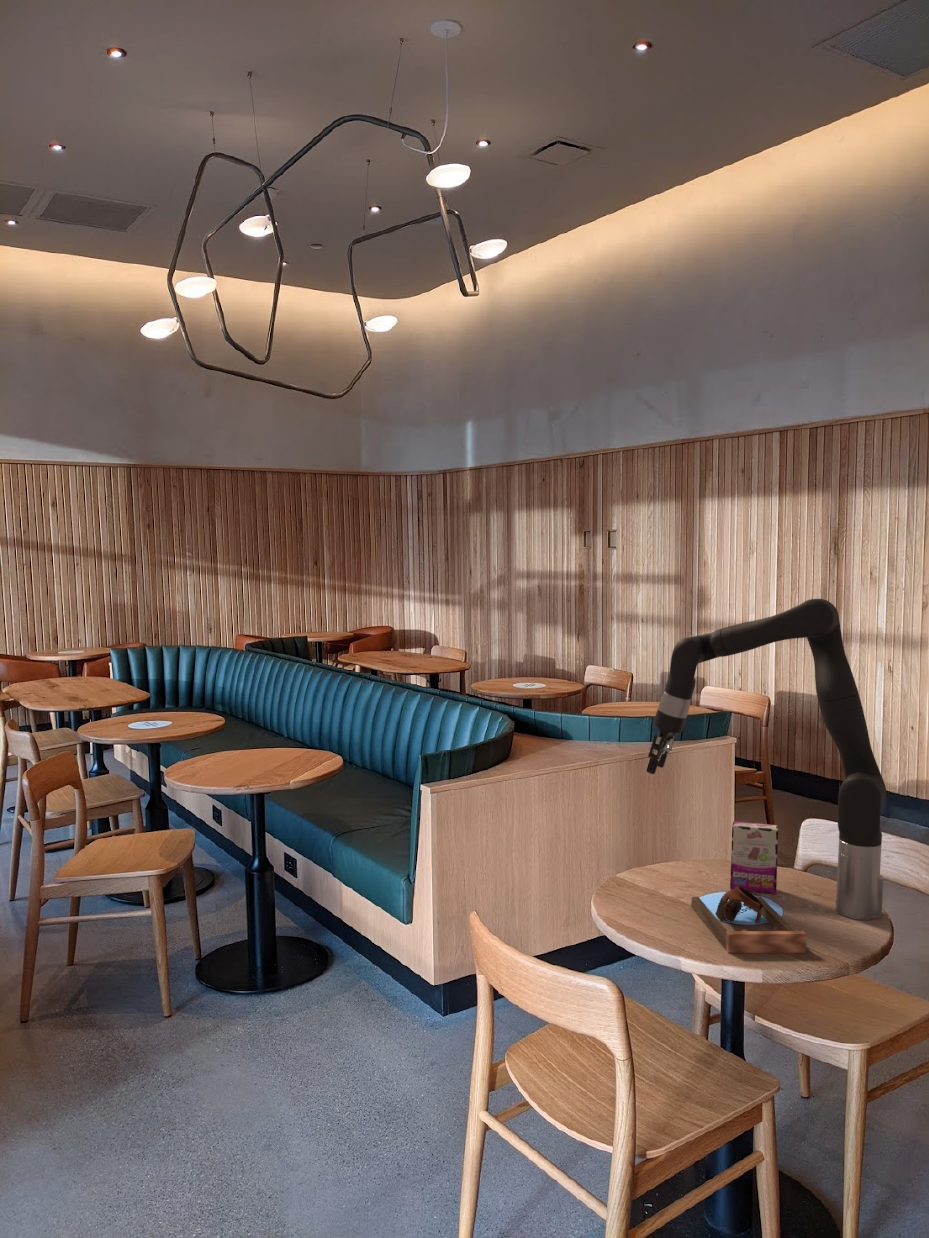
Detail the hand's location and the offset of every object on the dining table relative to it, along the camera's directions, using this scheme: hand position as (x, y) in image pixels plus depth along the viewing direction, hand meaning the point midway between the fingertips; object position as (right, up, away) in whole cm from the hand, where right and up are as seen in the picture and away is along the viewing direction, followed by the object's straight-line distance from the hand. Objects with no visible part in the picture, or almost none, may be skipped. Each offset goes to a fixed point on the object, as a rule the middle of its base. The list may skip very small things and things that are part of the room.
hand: (654, 769), depth 246 cm
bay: (+13, -30, -34) cm, 47 cm away
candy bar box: (+23, -29, -9) cm, 38 cm away
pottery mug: (+13, -30, -29) cm, 44 cm away
